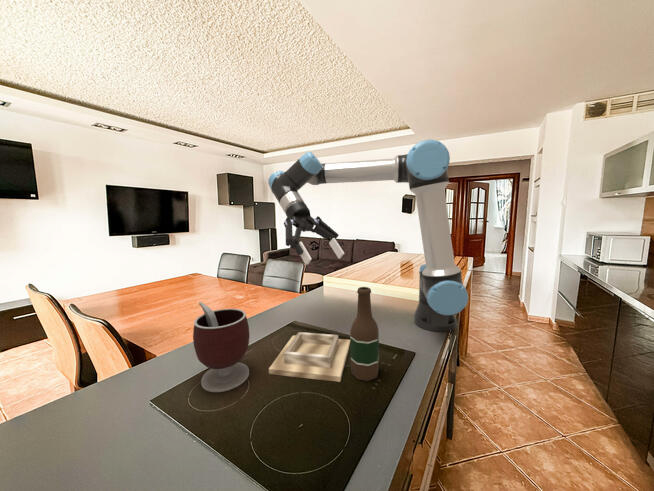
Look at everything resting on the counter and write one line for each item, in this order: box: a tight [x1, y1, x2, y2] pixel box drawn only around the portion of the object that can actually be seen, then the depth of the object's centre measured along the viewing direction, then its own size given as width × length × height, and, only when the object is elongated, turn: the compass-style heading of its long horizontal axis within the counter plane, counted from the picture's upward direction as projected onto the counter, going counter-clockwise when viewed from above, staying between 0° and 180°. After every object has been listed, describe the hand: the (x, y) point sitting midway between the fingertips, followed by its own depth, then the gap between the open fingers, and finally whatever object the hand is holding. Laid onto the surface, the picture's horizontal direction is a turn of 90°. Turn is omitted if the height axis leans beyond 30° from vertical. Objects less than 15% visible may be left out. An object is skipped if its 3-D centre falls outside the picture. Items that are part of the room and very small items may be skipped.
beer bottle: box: [349, 286, 380, 382], centre depth 72 cm, size 8×8×24 cm
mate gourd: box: [192, 301, 250, 393], centre depth 72 cm, size 16×14×20 cm
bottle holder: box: [268, 331, 350, 383], centre depth 81 cm, size 20×20×4 cm
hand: (326, 259), depth 81 cm, fingers open, 13 cm apart
